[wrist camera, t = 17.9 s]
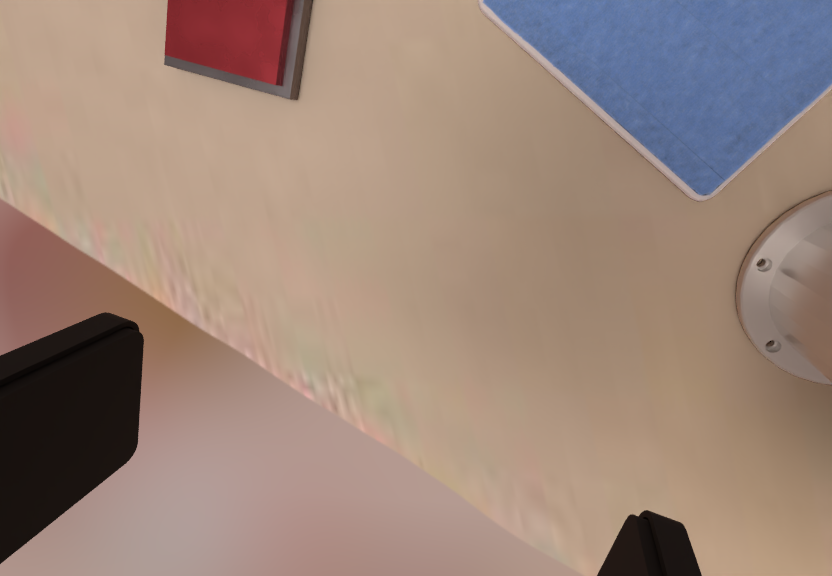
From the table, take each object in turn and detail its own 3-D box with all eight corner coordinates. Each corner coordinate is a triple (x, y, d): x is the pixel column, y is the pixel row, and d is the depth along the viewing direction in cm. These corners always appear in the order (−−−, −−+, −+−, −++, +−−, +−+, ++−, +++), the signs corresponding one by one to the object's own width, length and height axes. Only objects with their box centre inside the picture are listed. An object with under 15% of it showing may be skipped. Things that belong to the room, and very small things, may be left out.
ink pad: (316, -26, 34) (302, -35, 32) (297, 99, 36) (283, 98, 34) (183, -57, 35) (162, -68, 33) (175, 66, 38) (155, 63, 36)
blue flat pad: (472, 5, 32) (469, 0, 31) (624, -204, 28) (628, -219, 26) (697, 206, 33) (703, 209, 32) (885, 34, 28) (901, 30, 27)
